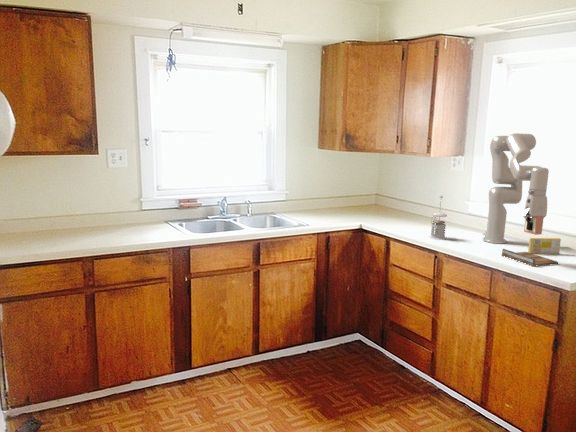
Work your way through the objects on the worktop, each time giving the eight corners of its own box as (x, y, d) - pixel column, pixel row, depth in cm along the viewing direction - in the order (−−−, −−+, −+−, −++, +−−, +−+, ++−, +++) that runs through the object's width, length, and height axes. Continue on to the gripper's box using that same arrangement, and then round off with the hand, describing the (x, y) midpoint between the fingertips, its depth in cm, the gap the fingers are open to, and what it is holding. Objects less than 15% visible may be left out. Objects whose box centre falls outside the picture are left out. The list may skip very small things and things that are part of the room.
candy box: (557, 253, 267) (559, 238, 265) (559, 254, 265) (561, 238, 263) (527, 252, 266) (529, 237, 264) (529, 253, 264) (531, 238, 262)
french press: (434, 240, 288) (438, 196, 284) (424, 235, 299) (427, 193, 295) (449, 239, 291) (453, 196, 286) (438, 235, 302) (442, 193, 297)
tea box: (535, 234, 244) (537, 216, 242) (523, 231, 250) (525, 213, 249) (541, 234, 245) (543, 216, 244) (530, 231, 252) (532, 213, 250)
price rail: (502, 253, 257) (502, 248, 256) (503, 253, 257) (503, 248, 257) (533, 264, 238) (533, 259, 238) (534, 263, 239) (535, 259, 238)
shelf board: (501, 255, 257) (501, 253, 257) (525, 253, 262) (526, 251, 262) (532, 266, 238) (533, 264, 238) (558, 264, 244) (558, 261, 244)
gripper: (530, 194, 238) (525, 232, 241) (556, 193, 244) (552, 230, 247) (518, 192, 245) (513, 229, 248) (544, 191, 251) (539, 227, 254)
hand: (533, 229), depth 247 cm, fingers closed on tea box, 4 cm apart
